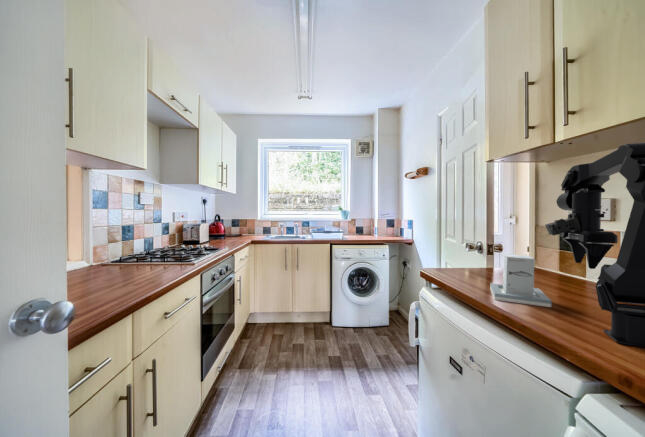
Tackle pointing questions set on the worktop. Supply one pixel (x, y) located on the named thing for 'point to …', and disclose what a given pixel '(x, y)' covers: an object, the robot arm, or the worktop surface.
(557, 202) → the robot arm
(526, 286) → the supplement box
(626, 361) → the worktop surface
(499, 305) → the worktop surface
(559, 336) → the worktop surface
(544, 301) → the tile coaster
